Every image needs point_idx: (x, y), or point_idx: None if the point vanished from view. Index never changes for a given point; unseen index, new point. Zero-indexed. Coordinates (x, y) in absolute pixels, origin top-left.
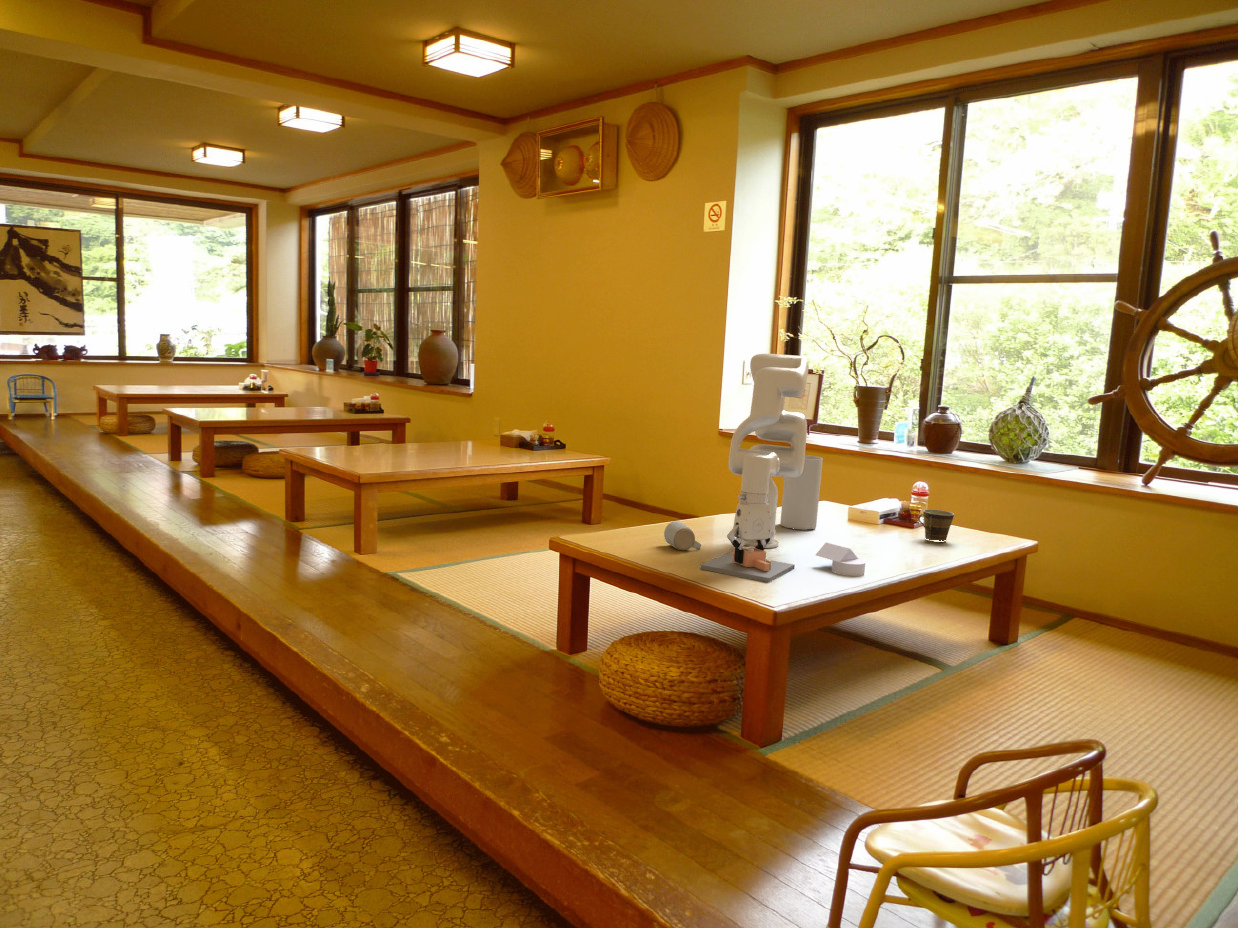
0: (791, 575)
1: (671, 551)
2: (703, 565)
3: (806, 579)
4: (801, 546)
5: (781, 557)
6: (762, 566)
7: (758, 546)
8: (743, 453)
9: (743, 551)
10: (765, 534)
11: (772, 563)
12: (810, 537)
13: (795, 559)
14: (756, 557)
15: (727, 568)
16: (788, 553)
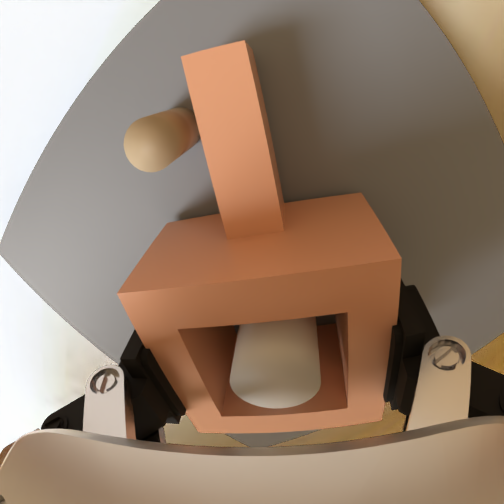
0: (47, 95)
1: None
2: None
3: (12, 21)
4: (17, 420)
5: (53, 384)
6: (258, 83)
7: (162, 403)
8: None
9: (403, 320)
10: (52, 486)
11: (94, 288)
12: (14, 440)
13: (13, 353)
14: (256, 243)
15: (494, 207)
16: (36, 401)
